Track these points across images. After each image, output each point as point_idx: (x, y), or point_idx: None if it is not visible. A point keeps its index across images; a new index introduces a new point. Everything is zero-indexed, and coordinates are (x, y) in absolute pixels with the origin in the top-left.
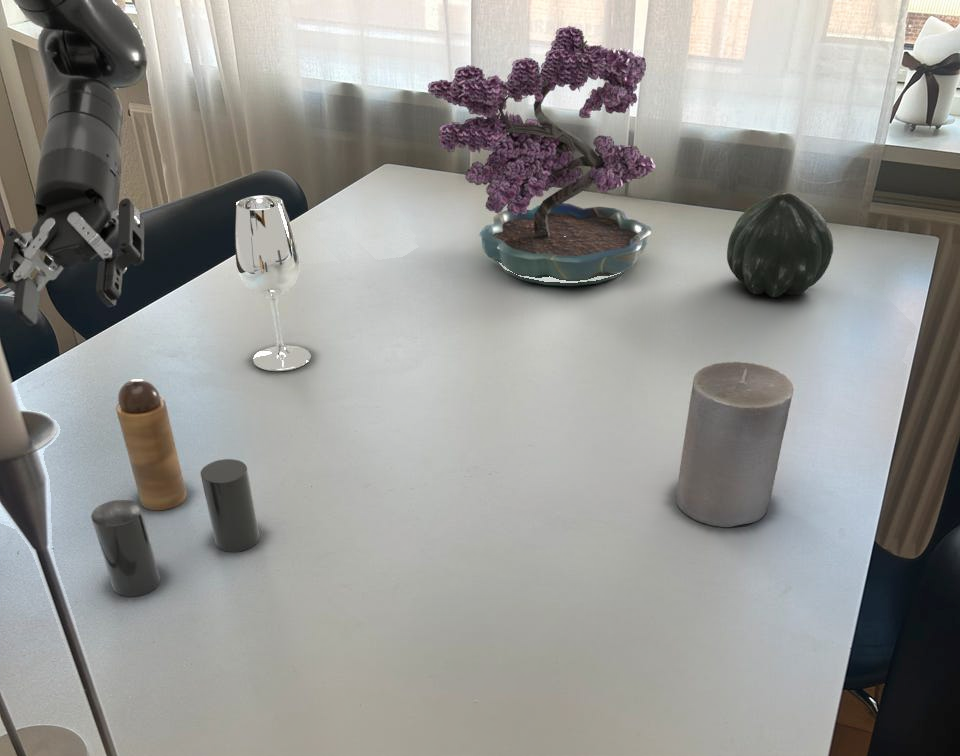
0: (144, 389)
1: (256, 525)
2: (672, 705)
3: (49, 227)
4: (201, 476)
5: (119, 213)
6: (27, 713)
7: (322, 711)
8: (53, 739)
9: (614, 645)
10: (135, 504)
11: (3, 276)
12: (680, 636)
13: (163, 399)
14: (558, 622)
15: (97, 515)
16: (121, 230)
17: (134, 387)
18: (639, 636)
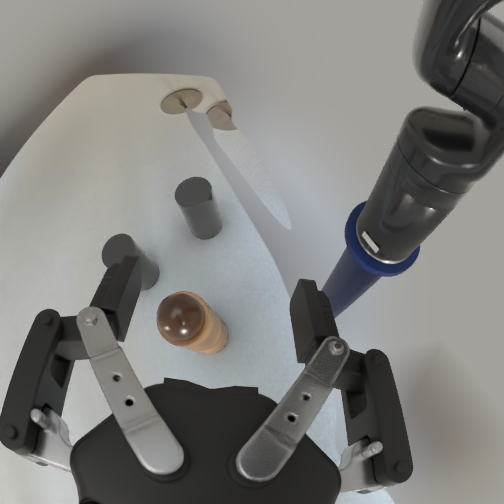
0: (163, 303)
1: None
2: (21, 176)
3: (256, 444)
4: (133, 241)
5: (28, 409)
6: (240, 135)
7: (114, 151)
8: (223, 125)
9: (19, 201)
10: (179, 201)
11: (372, 352)
12: (3, 209)
13: (159, 329)
14: (26, 211)
15: (206, 187)
16: (38, 355)
17: (172, 302)
18: (11, 207)
